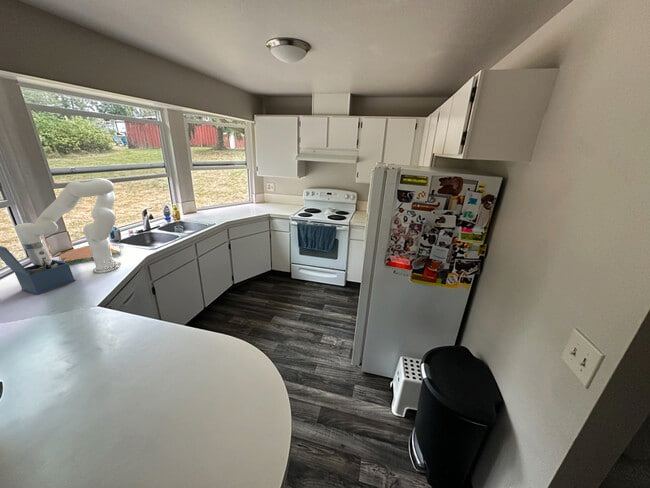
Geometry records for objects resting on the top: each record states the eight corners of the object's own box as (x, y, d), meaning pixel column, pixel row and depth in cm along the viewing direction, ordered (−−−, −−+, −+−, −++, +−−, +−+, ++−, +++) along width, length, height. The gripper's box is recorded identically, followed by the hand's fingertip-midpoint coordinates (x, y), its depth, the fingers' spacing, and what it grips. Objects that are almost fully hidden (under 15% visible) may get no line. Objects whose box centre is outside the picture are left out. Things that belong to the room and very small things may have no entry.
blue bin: (59, 276, 155) (52, 259, 151) (74, 280, 151) (68, 263, 147) (22, 289, 141) (13, 270, 137) (38, 294, 136) (29, 275, 132)
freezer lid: (-11, 243, 127) (-25, 248, 123) (5, 247, 123) (-9, 253, 119) (14, 269, 137) (1, 275, 133) (30, 274, 132) (17, 280, 128)
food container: (33, 288, 139) (26, 272, 135) (33, 284, 143) (26, 269, 139) (64, 280, 148) (58, 265, 144) (63, 276, 152) (57, 262, 148)
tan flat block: (63, 256, 184) (59, 245, 181) (119, 246, 204) (117, 237, 201) (59, 266, 168) (55, 255, 165) (121, 255, 188) (118, 245, 185)
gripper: (52, 245, 138) (63, 273, 144) (33, 241, 143) (45, 268, 150) (33, 249, 131) (46, 279, 138) (14, 245, 137) (28, 274, 143)
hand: (45, 273), depth 144 cm, fingers closed on food container, 7 cm apart
